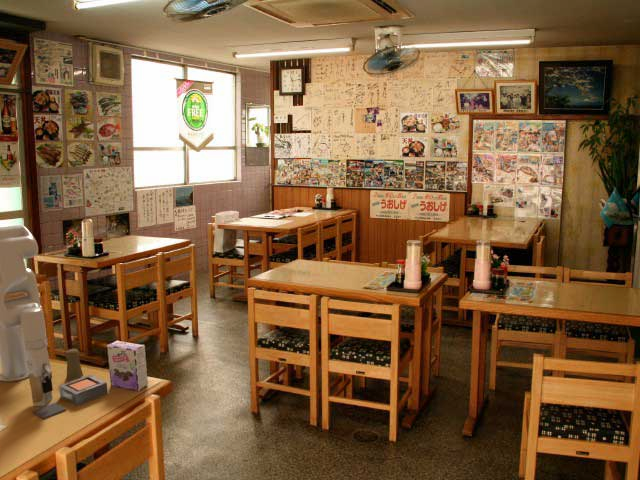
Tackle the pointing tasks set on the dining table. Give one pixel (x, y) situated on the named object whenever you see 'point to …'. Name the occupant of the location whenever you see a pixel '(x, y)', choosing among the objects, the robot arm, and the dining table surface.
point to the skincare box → (39, 391)
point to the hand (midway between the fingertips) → (41, 388)
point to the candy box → (127, 365)
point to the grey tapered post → (73, 364)
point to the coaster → (49, 410)
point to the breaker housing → (83, 391)
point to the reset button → (82, 385)
